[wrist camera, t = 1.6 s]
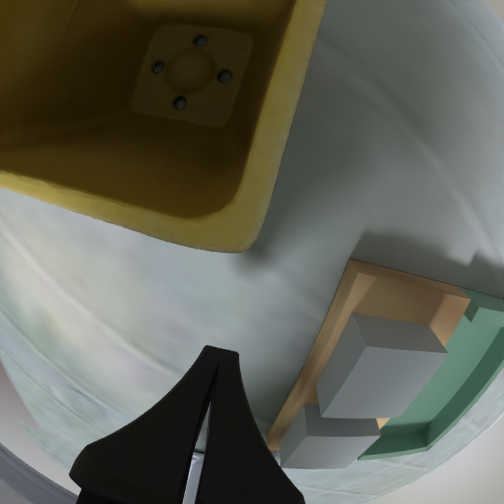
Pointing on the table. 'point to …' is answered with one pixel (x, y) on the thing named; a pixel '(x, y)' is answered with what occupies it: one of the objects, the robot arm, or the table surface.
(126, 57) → the flower pot
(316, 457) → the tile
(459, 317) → the board
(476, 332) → the tray
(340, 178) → the table surface
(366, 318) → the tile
